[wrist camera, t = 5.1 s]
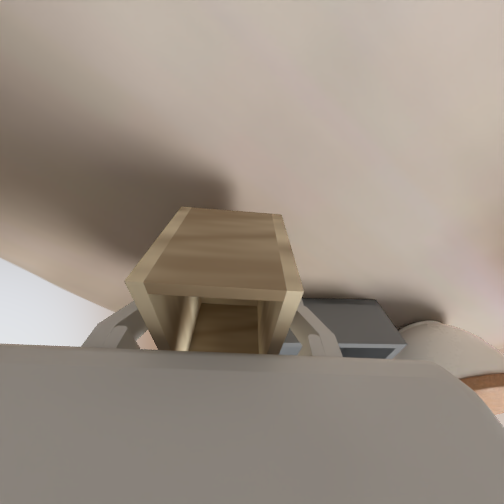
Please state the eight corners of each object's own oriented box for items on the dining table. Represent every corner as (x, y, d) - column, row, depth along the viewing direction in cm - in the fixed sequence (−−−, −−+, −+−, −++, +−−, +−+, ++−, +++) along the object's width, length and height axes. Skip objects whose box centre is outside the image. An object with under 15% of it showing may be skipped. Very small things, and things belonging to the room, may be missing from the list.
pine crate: (181, 206, 11) (124, 281, 6) (281, 214, 11) (303, 291, 6) (196, 301, 16) (173, 379, 11) (263, 304, 16) (267, 382, 12)
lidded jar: (362, 332, 24) (414, 429, 16) (456, 296, 20) (583, 402, 12) (389, 359, 29) (440, 444, 21) (470, 334, 25) (570, 429, 17)
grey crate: (265, 297, 20) (269, 342, 16) (375, 299, 20) (407, 344, 16) (257, 361, 29) (258, 400, 25) (333, 362, 29) (347, 401, 25)
